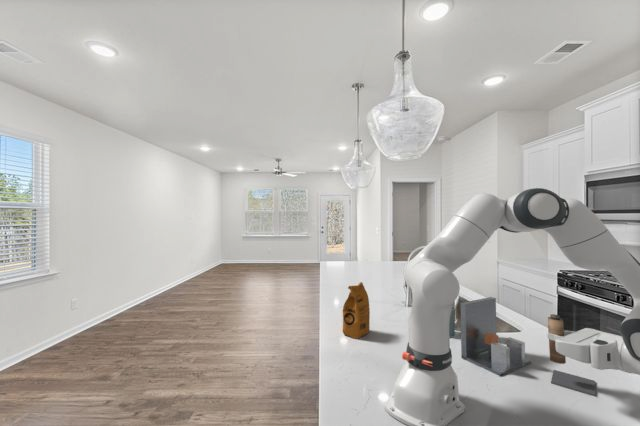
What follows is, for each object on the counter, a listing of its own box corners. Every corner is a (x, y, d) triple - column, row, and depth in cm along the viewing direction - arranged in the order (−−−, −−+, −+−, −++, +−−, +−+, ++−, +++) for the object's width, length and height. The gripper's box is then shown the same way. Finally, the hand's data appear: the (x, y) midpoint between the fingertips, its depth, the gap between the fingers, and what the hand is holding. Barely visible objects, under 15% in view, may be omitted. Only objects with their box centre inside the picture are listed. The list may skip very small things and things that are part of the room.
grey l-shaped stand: (500, 376, 93) (498, 313, 94) (461, 357, 106) (460, 303, 106) (530, 363, 102) (529, 306, 102) (491, 347, 114) (490, 297, 115)
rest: (595, 396, 82) (595, 395, 82) (550, 383, 89) (550, 381, 89) (594, 382, 90) (594, 380, 90) (553, 370, 97) (553, 369, 97)
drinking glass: (458, 338, 123) (458, 310, 123) (433, 337, 125) (433, 309, 125) (452, 330, 133) (452, 303, 133) (429, 328, 135) (429, 302, 135)
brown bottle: (565, 365, 88) (562, 318, 88) (549, 361, 90) (546, 315, 91) (566, 360, 90) (563, 315, 91) (550, 357, 93) (548, 313, 94)
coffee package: (339, 334, 128) (338, 284, 129) (354, 326, 138) (354, 280, 138) (357, 340, 122) (357, 288, 122) (373, 331, 131) (372, 283, 132)
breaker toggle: (493, 357, 103) (492, 337, 103) (484, 354, 106) (484, 334, 106) (498, 355, 104) (498, 335, 105) (490, 352, 107) (489, 332, 107)
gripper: (626, 331, 84) (568, 318, 96) (595, 346, 75) (535, 329, 87) (627, 353, 84) (569, 337, 96) (596, 371, 74) (536, 350, 87)
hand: (553, 333), depth 91 cm, fingers closed on brown bottle, 4 cm apart
